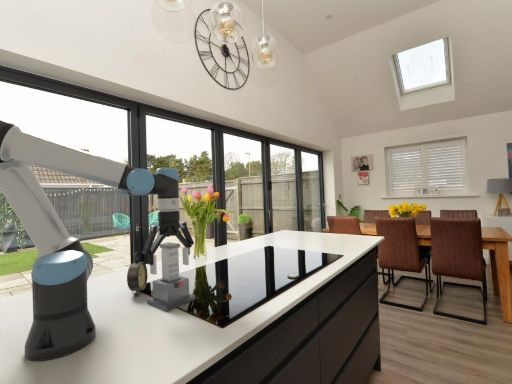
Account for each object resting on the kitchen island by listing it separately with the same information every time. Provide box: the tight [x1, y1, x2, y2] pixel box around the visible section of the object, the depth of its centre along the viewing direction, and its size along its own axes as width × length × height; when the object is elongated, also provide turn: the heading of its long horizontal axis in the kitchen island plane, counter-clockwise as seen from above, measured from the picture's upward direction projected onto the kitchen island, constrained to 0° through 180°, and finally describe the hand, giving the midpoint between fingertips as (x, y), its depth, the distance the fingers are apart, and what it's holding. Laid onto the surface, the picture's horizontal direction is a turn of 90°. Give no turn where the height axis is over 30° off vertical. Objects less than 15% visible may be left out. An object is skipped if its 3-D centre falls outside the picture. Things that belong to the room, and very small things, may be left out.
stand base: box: [146, 275, 196, 313], centre depth 96 cm, size 12×12×8 cm
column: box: [159, 242, 181, 283], centre depth 96 cm, size 4×6×19 cm
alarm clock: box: [126, 251, 148, 297], centre depth 106 cm, size 11×5×16 cm, turn 5°
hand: (170, 269), depth 96 cm, fingers open, 13 cm apart
